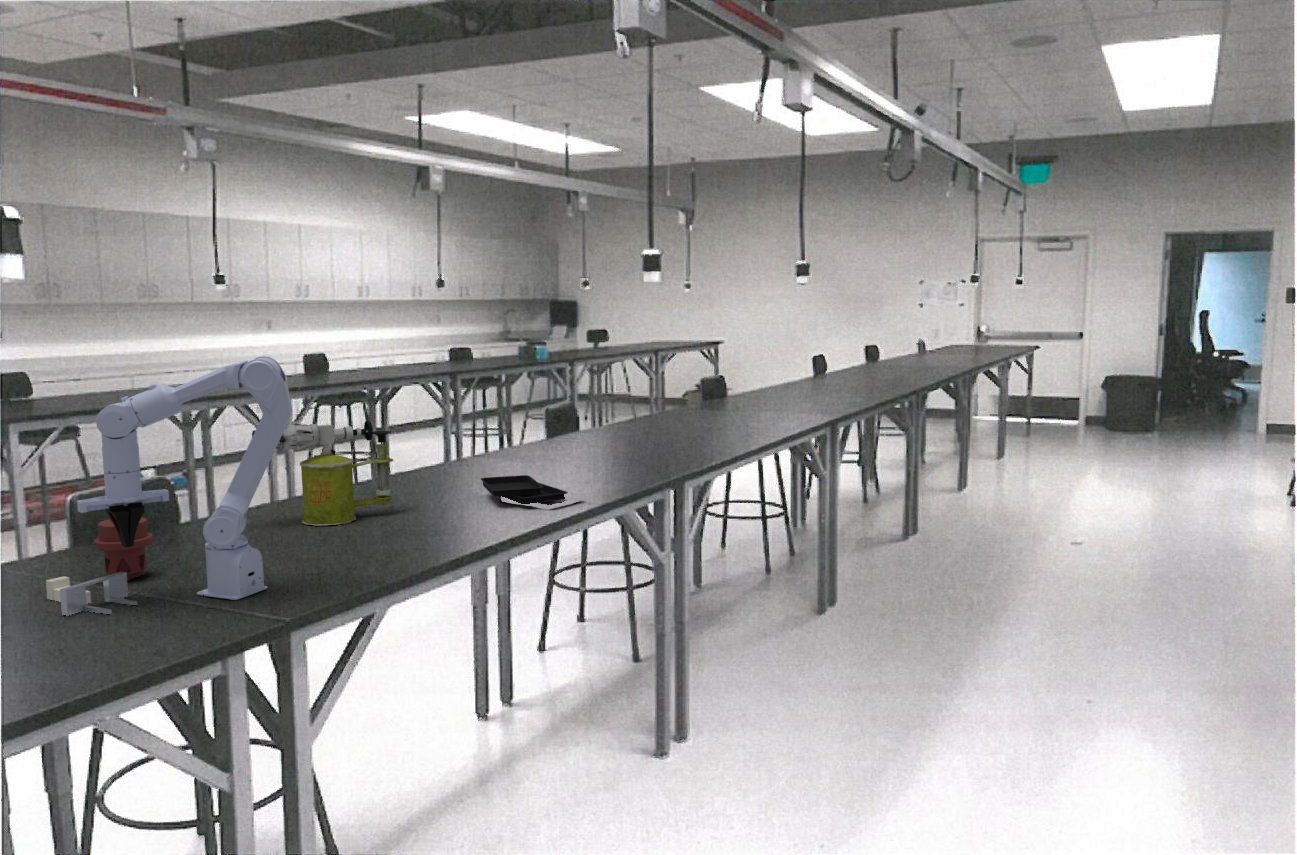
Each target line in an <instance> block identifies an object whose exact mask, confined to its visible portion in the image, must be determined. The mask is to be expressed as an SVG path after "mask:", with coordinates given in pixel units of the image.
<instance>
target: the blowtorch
mask: <svg viewBox="0 0 1297 855" xmlns="http://www.w3.org/2000/svg"><path fill="white" fill-rule="evenodd" d="M255 431H256V429H255V430H252V433H251V438H252V437H253V435H254V433H255ZM390 433H392V432H391V430H373V425H372V422H371V421H370V420H365V421H364V423H363V428H361V427H356V428H355V429H353V427H352V426H350V425H349V426H344V427H341V428H340V427H339V428H334V425H333V424H321V425H318V424H316V423H312V424H311V423H309V424H305V423H301V422H299V421H294V422H293V423H292V424H289V425H288V424H287V426H286V428H285V430H284V432H283V434H282V436H281V438H280V440H279V443H278V445H277V447H276V449H275V450H294V451H296V452H300V451H303V450H306V449H307V448H309V447H311V448H314V447H319V446H320V445H322V448H321V452H320V455H316V456H313V457H312V456H311V457H310V458H307V459H305V460H301V461H300V462H299V466H300V468H301V469H300V470H301V481H302V482H301V485H302V486H301V488H302V501H303V503H302V504H303V519H301V524H302V523H304V524H307V525H316V526H321V525H336V524H341V523H346V522H349V521H351V520H353V519H354V516H355V508H356V507H362V506H363V507H364V506H372V505H377V504H378V505H381V506H385V505H388V504H389V503H390V502H391V500H392V498H393V495H391V492H392V491H391V488H390V478H389V473H390V472H389V463H392V462H394V458H389V457H388V456H387V454H388V446H389V444H388V443H386V435H388V434H390ZM373 435H376V436H377V443H378V444H375V449H376V455H377V458H372V459H370V460H365V461H361V462H356V463H354V459H353V458H349V457H346V456H343V455H337V454H336V450H335V449H333V445H332V444H334V443H335V440H339V439H344V440H351V439H353V438H354V436H356V437H361V436H364V438H365V439H366V441H372V439H373ZM375 463H376V473H377V474H376V476H377V489H376V490H375V495H376V496H373V498H369V499H368V498H367V499H357V500H356V499H355V498H354V476H353V475H354V474H353V468H357V467H361V466H366V465H370V464H375ZM354 499H355V500H354Z"/></svg>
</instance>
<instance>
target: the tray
mask: <svg viewBox="0 0 1297 855" xmlns="http://www.w3.org/2000/svg"><path fill="white" fill-rule="evenodd" d="M480 480H481V482H482V486H483V488H484V489H486V491H488V493H489V494H490V495H492V496H493V497H497V498H500V497H501V496H502V497H505V498H508V499H510V500H513V501H516V502H518V503H521V504H530V503H537V502H538V503H541V504H547V505H549V504H550V505H552V503H544V502H549V501H550V502H551V501H557V502H558V503H562V502H561V500H562V501H563V502H564V501H565V500H564V499H565V497H564V494H569V491H566V490H562V489H559V488H556V487H554V486H550V485H547V484H544V483H541V482H539V481H537V480H536V479H534V478H533V477H532V476H531V475H528V474H527V475H526V474H524V475H520V474H519V475H504V476H491V477H481V478H480ZM558 500H559V501H558Z"/></svg>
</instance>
